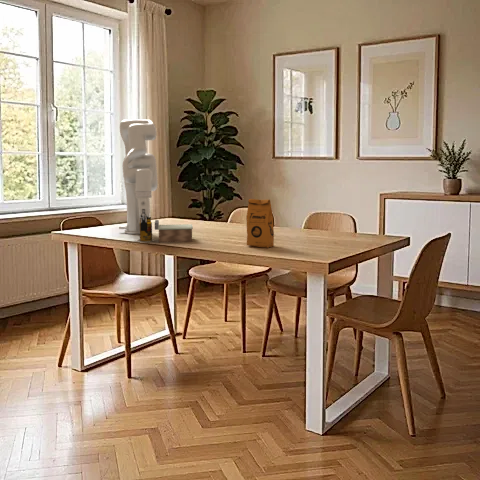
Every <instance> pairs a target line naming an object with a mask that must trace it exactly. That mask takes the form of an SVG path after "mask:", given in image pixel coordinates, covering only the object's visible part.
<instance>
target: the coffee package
mask: <svg viewBox="0 0 480 480" xmlns="http://www.w3.org/2000/svg"><path fill="white" fill-rule="evenodd" d="M272 209H273V208H272V204H271V199H270V198H269V199H257V198H249V199H248V206H247V210H246V211H247V212H246V218H245V219H246V246H250V247H254V248H266V249H270V248H272V247H274V246H275V244H274V243H275V238H274V237H275V234H274V233H275V231H274V217H273V210H272ZM269 247H270V248H269Z"/></svg>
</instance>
